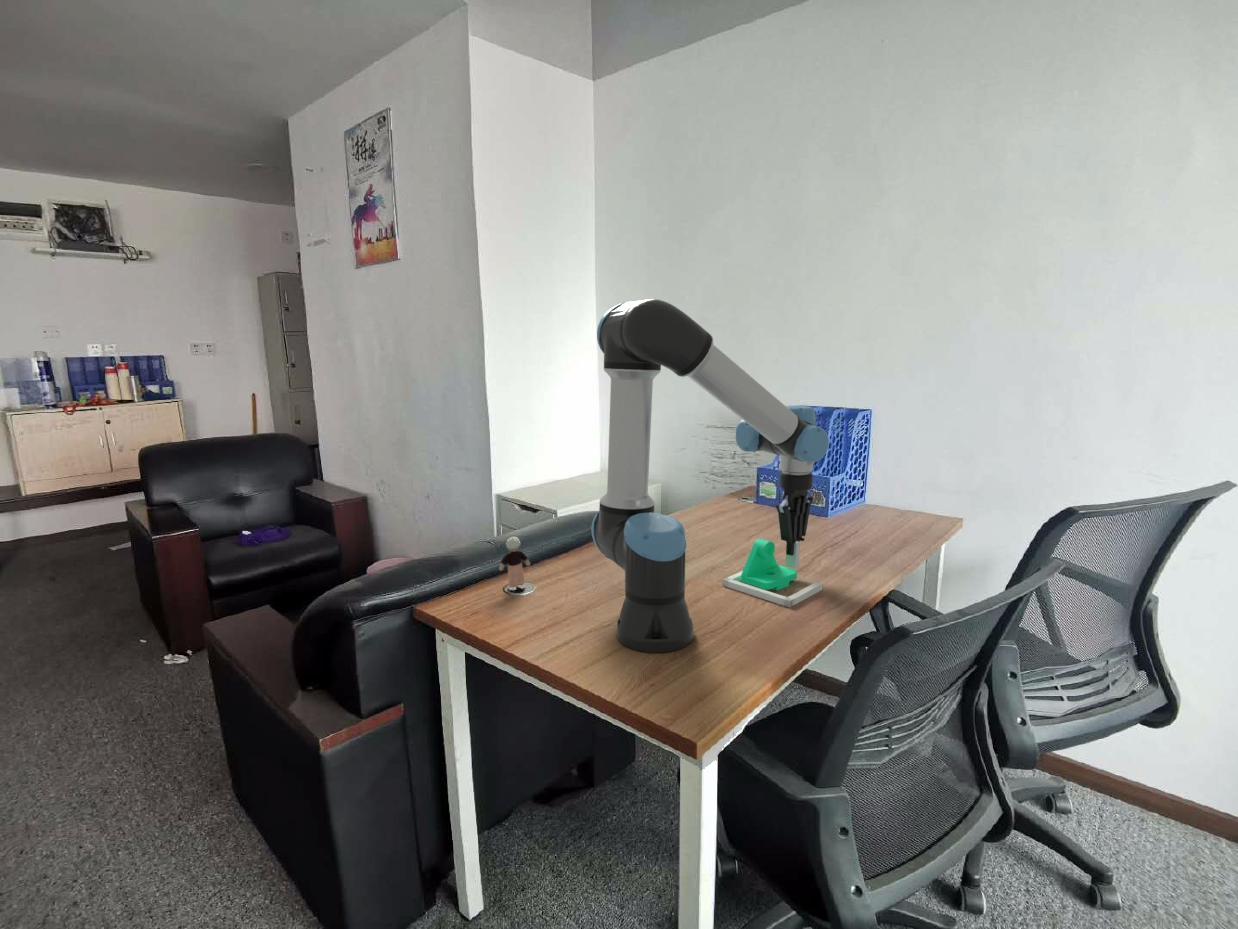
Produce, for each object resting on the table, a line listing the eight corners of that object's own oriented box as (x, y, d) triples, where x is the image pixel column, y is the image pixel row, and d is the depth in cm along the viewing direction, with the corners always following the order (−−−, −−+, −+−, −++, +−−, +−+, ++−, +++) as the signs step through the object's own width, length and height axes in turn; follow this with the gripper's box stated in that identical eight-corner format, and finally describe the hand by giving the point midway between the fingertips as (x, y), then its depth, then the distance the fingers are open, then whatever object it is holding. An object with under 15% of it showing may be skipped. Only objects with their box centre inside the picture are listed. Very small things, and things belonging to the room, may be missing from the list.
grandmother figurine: (523, 582, 152) (521, 532, 150) (533, 586, 149) (531, 535, 147) (496, 591, 147) (494, 539, 144) (506, 595, 144) (503, 542, 142)
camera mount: (767, 594, 143) (768, 551, 141) (740, 585, 149) (742, 543, 147) (798, 582, 151) (800, 541, 149) (772, 573, 156) (774, 533, 154)
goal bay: (756, 570, 158) (756, 564, 158) (821, 589, 145) (822, 583, 145) (722, 585, 149) (722, 579, 148) (789, 607, 136) (790, 601, 136)
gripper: (796, 478, 141) (791, 577, 145) (824, 469, 150) (819, 563, 154) (767, 473, 146) (763, 569, 151) (796, 465, 155) (792, 556, 160)
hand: (792, 566), depth 152 cm, fingers closed
